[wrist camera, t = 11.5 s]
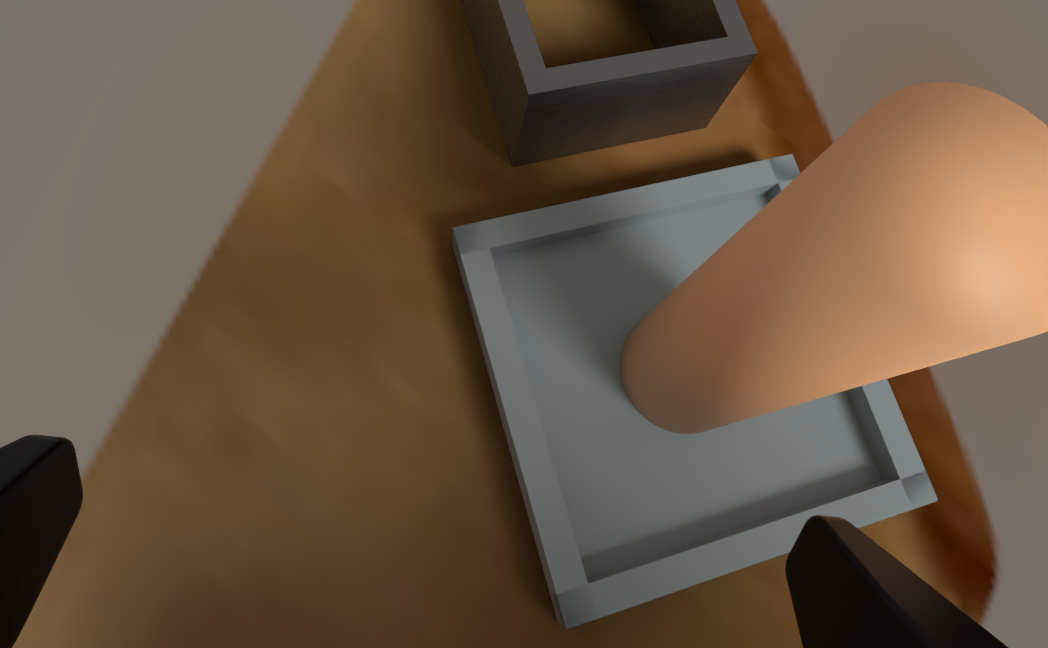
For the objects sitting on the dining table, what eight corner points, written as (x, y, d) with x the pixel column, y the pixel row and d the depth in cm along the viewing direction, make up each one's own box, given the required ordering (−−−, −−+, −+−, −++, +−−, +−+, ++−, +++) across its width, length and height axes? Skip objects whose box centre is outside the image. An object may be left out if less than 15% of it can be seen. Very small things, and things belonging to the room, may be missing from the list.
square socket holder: (705, 127, 26) (757, 52, 22) (512, 166, 25) (528, 94, 20) (641, -36, 28) (678, -135, 24) (457, -10, 27) (462, -110, 22)
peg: (761, 414, 23) (1152, 300, 10) (644, 449, 22) (916, 371, 10) (717, 296, 24) (1025, 61, 11) (603, 325, 23) (801, 107, 10)
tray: (907, 500, 23) (937, 500, 22) (557, 621, 21) (566, 629, 19) (772, 173, 26) (792, 153, 25) (451, 244, 24) (452, 227, 22)
